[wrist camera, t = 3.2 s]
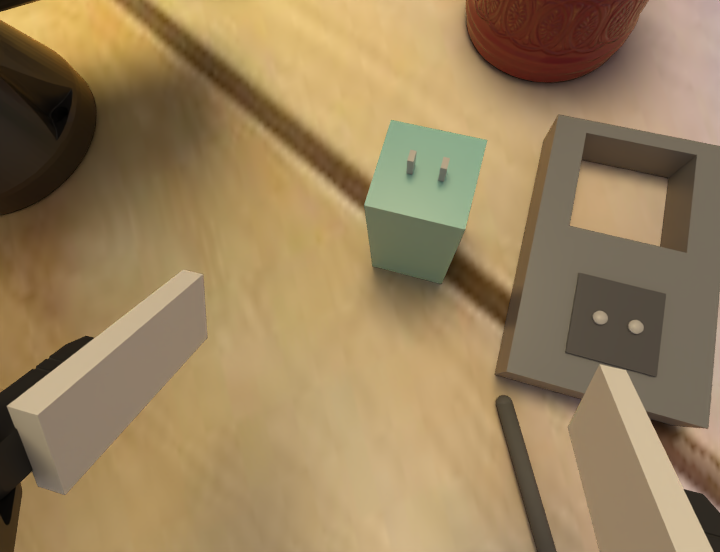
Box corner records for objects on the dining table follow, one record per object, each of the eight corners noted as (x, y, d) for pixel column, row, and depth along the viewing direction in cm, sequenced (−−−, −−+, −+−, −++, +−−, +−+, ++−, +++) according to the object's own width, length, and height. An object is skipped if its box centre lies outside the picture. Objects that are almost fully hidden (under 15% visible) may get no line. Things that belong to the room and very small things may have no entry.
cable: (565, 590, 25) (572, 597, 24) (547, 593, 25) (554, 601, 24) (507, 393, 28) (511, 393, 27) (492, 396, 28) (496, 396, 27)
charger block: (441, 284, 30) (469, 219, 19) (372, 266, 31) (362, 194, 20) (457, 219, 31) (492, 125, 21) (391, 203, 32) (391, 104, 21)
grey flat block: (674, 425, 27) (713, 429, 23) (494, 374, 28) (508, 370, 25) (699, 171, 31) (735, 144, 28) (543, 139, 33) (560, 110, 29)
